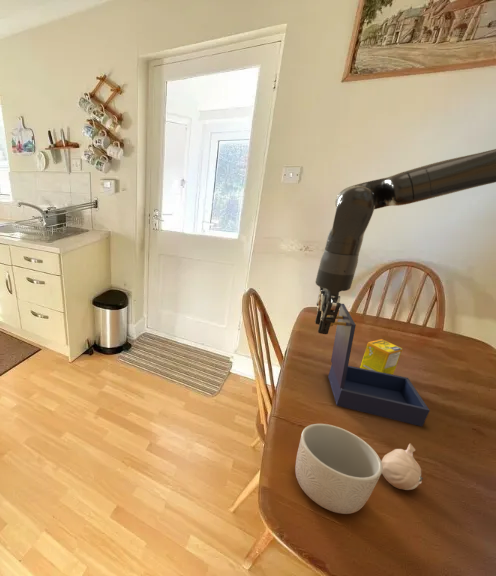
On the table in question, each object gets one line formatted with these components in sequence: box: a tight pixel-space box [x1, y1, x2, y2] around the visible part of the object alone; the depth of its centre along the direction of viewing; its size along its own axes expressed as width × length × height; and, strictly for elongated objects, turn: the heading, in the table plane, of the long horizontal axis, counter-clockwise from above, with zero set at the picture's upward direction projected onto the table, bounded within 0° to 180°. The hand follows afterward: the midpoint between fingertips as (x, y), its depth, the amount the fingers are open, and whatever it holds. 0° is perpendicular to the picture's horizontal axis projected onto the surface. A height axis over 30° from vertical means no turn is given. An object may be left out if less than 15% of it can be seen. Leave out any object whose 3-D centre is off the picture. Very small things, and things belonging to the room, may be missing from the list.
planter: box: [294, 423, 383, 515], centre depth 60 cm, size 12×12×11 cm
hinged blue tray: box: [327, 364, 431, 427], centre depth 84 cm, size 18×14×5 cm
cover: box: [327, 303, 357, 389], centre depth 85 cm, size 18×14×5 cm
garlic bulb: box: [381, 443, 424, 491], centre depth 62 cm, size 7×6×8 cm
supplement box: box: [359, 338, 403, 375], centre depth 93 cm, size 6×6×11 cm
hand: (320, 328), depth 85 cm, fingers closed on cover, 5 cm apart
